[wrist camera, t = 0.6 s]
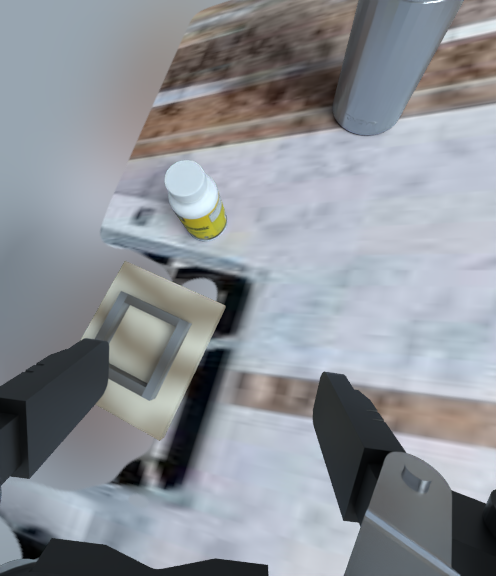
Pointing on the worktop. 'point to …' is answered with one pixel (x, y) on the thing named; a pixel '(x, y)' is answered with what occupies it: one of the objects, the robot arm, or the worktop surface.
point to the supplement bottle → (195, 200)
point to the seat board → (151, 345)
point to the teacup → (15, 564)
